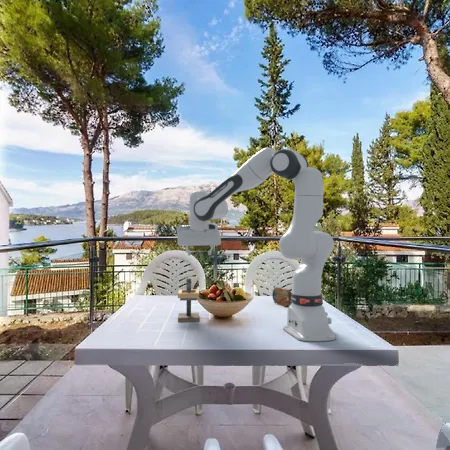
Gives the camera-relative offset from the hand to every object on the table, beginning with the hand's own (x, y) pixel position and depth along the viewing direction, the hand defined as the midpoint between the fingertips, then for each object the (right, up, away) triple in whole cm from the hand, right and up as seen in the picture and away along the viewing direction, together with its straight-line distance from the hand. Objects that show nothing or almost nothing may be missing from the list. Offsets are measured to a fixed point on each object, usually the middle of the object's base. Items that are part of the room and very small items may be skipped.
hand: (199, 255), depth 178 cm
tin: (+41, -27, +17) cm, 52 cm away
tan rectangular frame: (-4, -17, -8) cm, 19 cm away
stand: (-4, -27, -11) cm, 29 cm away
